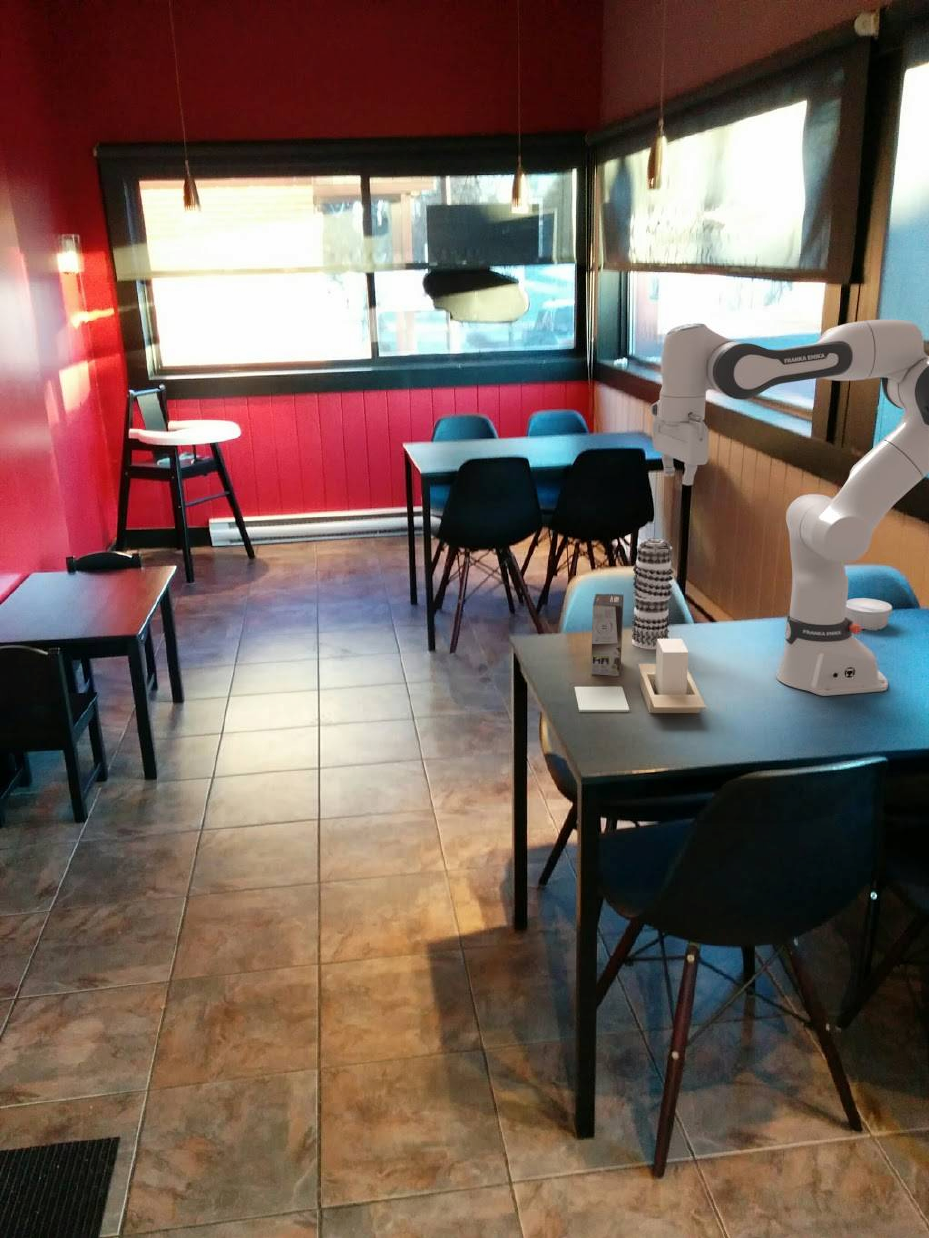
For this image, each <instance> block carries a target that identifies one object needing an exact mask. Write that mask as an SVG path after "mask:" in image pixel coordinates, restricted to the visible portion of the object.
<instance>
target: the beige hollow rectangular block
mask: <svg viewBox="0 0 929 1238" xmlns="http://www.w3.org/2000/svg"><path fill="white" fill-rule="evenodd" d="M637 667H638V669H639V672H640V690H641V693H642V696H643V699H644V702H645V703H646V707H647V709H648V712H649V714H700V713H701V709H707V705H706V703H705V701H704V699H703V697H702V695H701V693H700V691H699V689H698V687H697V686H696V683H695V681H694V679H693V677H692V675H691V674H690V671H689V670H688V672H687V688H686V695H655V693H654V687H655V668H656V663H637Z"/></svg>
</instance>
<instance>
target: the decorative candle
mask: <svg viewBox="0 0 929 1238" xmlns="http://www.w3.org/2000/svg"><path fill="white" fill-rule="evenodd" d="M636 549H637V559H636V561H635V563H634V564H633V566H634V567H633V570H632V571H633V573H634V576H633V580H634V582H633V584H632V585H633V589H634V590H633V597H634V598H635V606H634V610H633V612H634V613H633V615H632V618H633V619H632V624H633V626H632V628H631V631H632V634H631V638H632V640H631V643H632V645H633V644H634V645H635V647H636V648H639V647H640V649H643V648H644V650H656V649H657V639H670V638H669V635H668V634H669V632H670V629H669V626H670V623H669V620H670V617H671V616H669V606H668V605H669V599H670V598H671V595H672V591H671V588H672V587H673V586H672V584H670V582H671V581H672V580H673V579H674V577H673V576H672V574H673V573H674V570H673V569H672V568H671V567H672V559H671V556H672V550H673V546H671V545H670V544H669V542H668V541H667V540H665V539H661V538H646V539H643V540H642V541H641V542H640V544H638V545H637V546H636ZM634 645H633V646H634ZM637 646H638V647H637Z"/></svg>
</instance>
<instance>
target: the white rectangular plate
mask: <svg viewBox="0 0 929 1238" xmlns="http://www.w3.org/2000/svg"><path fill="white" fill-rule="evenodd" d="M573 688H574V693H575V697H576V703H577V707H578V708H577V709H578V713H629V712H630V707H629V704H628V702H627V698H626V694H625V691H624V689H623V687H622V686H574V687H573Z"/></svg>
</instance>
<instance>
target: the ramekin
mask: <svg viewBox="0 0 929 1238" xmlns="http://www.w3.org/2000/svg"><path fill="white" fill-rule="evenodd" d="M892 611H893V606H892V605H891V604H890V603H888V602H886V601H883V600H879V599H876V598H875V599H874V598H867V597H860V598H858V597H856V598H850V599H847V604H846V613H845V617H846V618H848V619H850V620H851V621H853V623H857V624H858V625H859V626H860V627H861V628H862V629H866V630H865V631H876V630H875V629H880V630H882V629H881V628H883V629H884V628H886V626H887V625H888V622H889V619H890V616H891V613H892ZM862 629H861V630H862ZM867 629H868V630H867Z"/></svg>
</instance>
